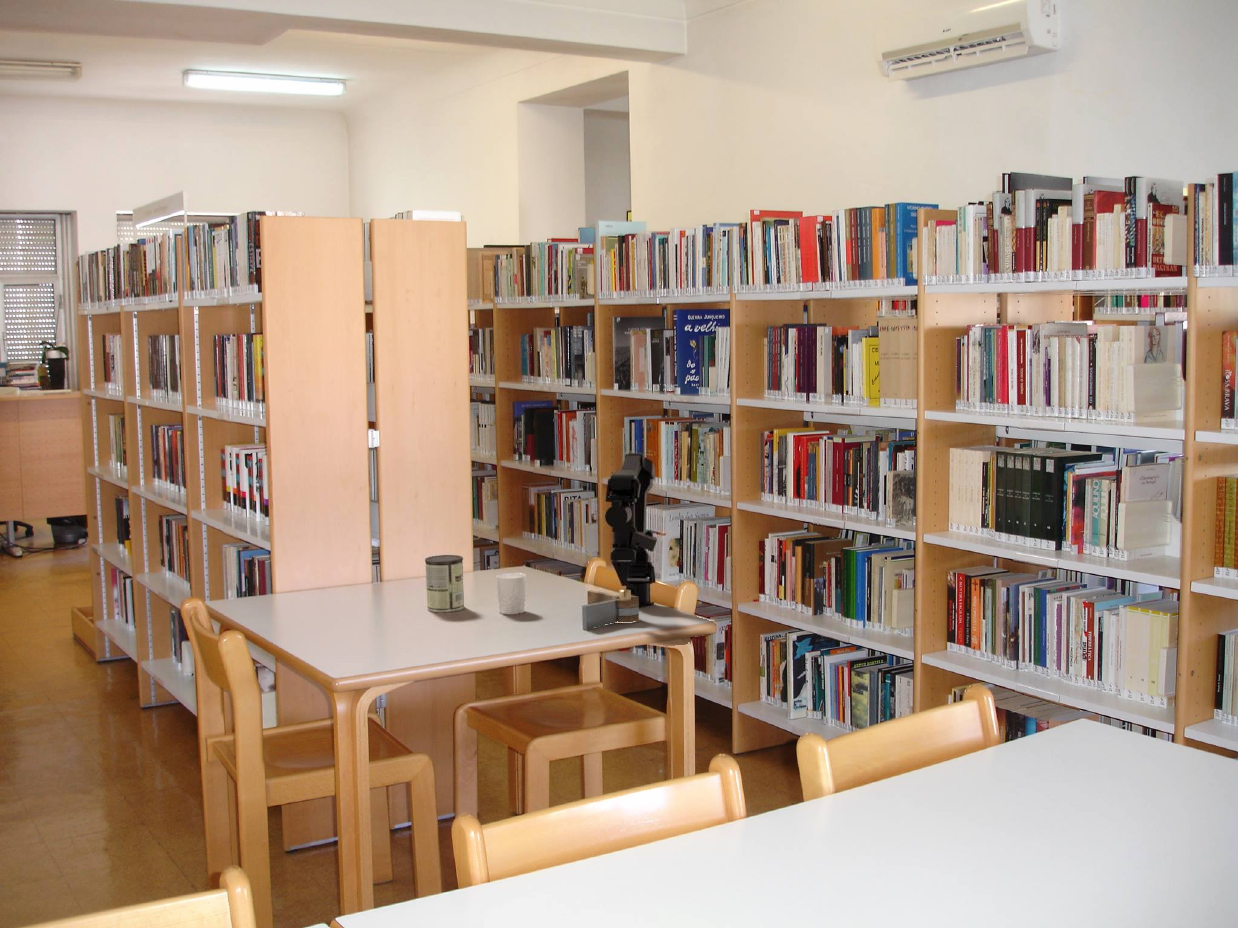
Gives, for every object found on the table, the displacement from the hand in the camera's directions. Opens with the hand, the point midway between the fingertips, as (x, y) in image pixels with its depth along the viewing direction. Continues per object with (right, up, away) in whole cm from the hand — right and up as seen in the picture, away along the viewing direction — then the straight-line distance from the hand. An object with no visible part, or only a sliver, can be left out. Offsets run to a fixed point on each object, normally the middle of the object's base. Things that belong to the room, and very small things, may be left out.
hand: (624, 582), depth 306 cm
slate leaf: (-4, -10, -2) cm, 11 cm away
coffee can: (-49, -9, +20) cm, 54 cm away
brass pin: (0, -10, +1) cm, 10 cm away
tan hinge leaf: (-3, -10, +5) cm, 11 cm away
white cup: (-30, -10, +14) cm, 35 cm away
